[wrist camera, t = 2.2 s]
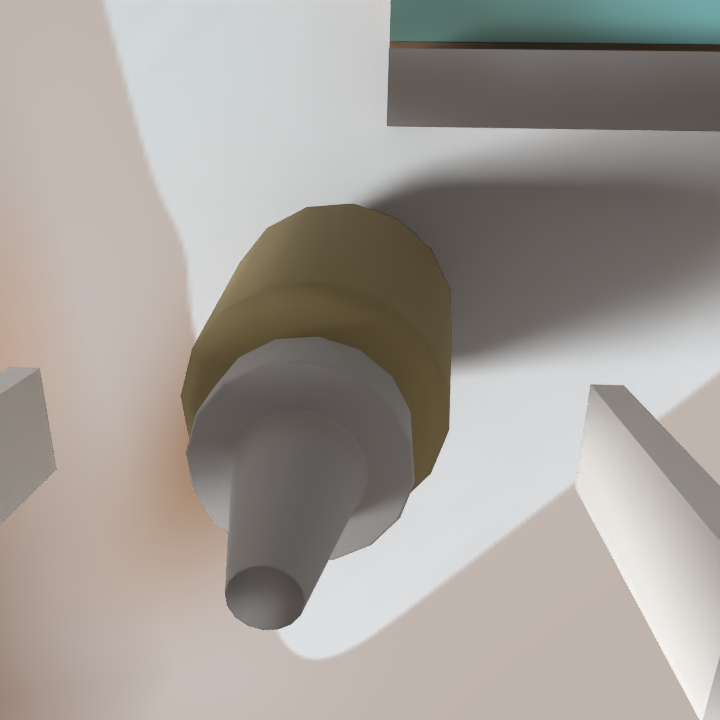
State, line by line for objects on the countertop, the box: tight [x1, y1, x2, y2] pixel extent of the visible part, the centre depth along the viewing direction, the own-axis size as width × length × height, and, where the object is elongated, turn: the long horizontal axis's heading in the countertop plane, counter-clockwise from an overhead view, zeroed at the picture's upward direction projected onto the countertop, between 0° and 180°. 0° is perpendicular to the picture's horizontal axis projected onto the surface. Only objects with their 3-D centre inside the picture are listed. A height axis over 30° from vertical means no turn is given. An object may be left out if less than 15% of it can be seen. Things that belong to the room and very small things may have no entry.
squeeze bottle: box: [181, 204, 452, 630], centre depth 17 cm, size 8×8×18 cm
